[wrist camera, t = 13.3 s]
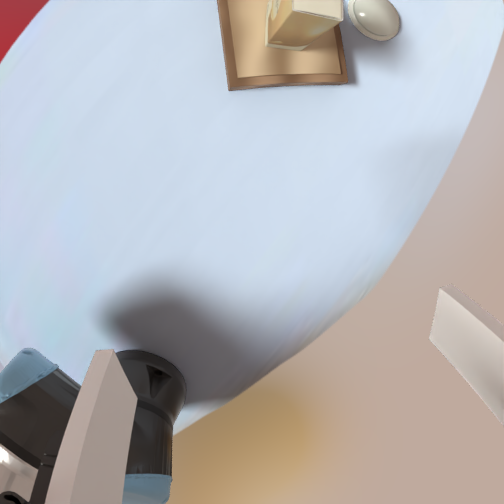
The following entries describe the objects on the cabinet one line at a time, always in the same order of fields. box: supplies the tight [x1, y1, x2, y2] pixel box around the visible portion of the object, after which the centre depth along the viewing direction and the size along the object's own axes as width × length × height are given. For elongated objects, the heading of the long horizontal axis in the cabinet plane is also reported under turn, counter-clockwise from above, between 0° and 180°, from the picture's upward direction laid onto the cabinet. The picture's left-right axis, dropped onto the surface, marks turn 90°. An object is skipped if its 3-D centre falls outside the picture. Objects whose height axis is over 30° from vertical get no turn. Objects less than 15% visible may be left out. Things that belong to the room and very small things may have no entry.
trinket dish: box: [348, 0, 399, 41], centre depth 30 cm, size 8×8×2 cm
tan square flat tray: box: [217, 0, 348, 91], centre depth 29 cm, size 14×14×3 cm
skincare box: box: [265, 0, 343, 51], centre depth 22 cm, size 6×4×12 cm
